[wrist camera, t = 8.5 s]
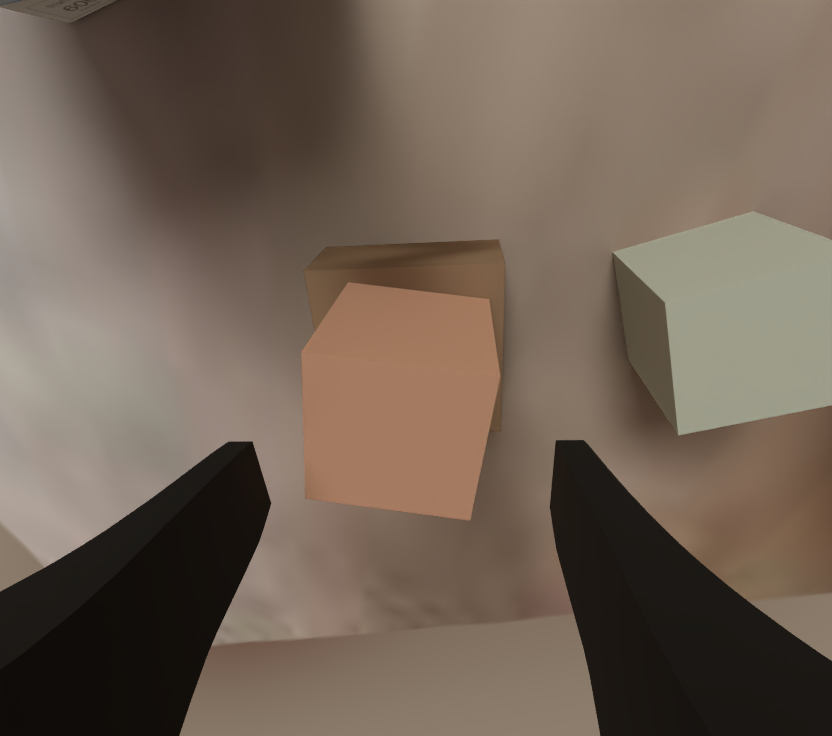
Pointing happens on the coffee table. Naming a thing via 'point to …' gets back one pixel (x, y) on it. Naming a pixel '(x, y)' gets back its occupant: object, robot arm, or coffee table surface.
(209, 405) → the coffee table surface
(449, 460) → the terracotta cube
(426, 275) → the walnut base
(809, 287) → the sage cube
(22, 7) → the light bulb box
